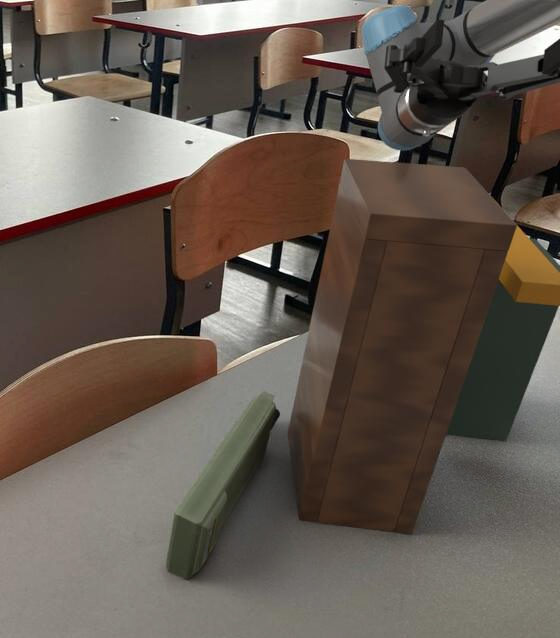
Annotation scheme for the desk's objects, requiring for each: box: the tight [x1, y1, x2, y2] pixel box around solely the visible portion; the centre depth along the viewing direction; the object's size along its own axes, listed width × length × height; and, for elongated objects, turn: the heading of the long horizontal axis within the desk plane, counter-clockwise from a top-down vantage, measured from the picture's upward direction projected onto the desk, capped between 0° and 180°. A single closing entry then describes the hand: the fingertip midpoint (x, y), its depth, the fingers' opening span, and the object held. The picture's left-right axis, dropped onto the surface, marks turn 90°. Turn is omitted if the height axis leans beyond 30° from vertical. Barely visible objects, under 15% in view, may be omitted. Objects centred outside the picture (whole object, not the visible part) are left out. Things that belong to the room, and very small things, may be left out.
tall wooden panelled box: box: [287, 158, 518, 535], centre depth 67 cm, size 10×13×30 cm
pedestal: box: [446, 237, 560, 442], centre depth 80 cm, size 10×9×20 cm
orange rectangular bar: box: [496, 201, 560, 307], centre depth 75 cm, size 4×22×2 cm, turn 171°
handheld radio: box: [165, 390, 281, 580], centre depth 71 cm, size 7×3×25 cm
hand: (508, 36), depth 78 cm, fingers open, 13 cm apart
